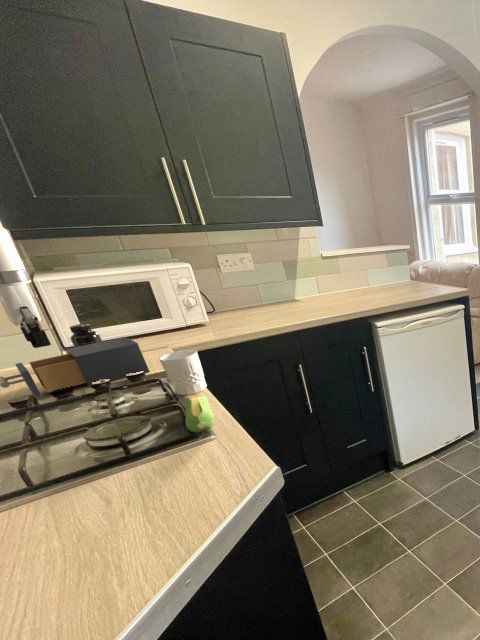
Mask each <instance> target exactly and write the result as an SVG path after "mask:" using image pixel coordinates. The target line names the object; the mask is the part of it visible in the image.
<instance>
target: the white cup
mask: <svg viewBox="0 0 480 640" xmlns="http://www.w3.org/2000/svg"><path fill="white" fill-rule="evenodd" d="M159 361H160V364H161V366H162V367H163V369H164V372H165V374H166V376H167V378H168V380H169V382H170V384H171V385H172V387H173V389H174V392H175V393H176V394H177V395H178V396H188V395H189V396H190V395H192V394H197V393H199V392H202V391H204V390H206V389H207V386H208V384H207V382H206V379H205V373H204V370H203V366H202V364H201V360H200V357H199V354H198V350H195V349H184V350H178V351H177V350H176V351H172V352H169V353H167V354H163V355H162V356H160V357H159Z"/></svg>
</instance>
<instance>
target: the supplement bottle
mask: <svg viewBox="0 0 480 640" xmlns="http://www.w3.org/2000/svg"><path fill="white" fill-rule="evenodd" d="M69 330H70V333H72V335H71V336H70V342H71V343H72V345H73V348H74V347H79V346H84V345H88V344H93V343H98V342H103V340H102V337H101V335H100V333H99V332H97V331H95V330H93V328H92V326H91V324H90V323H89V322H87V323H79V324H74V325H71V326H69Z"/></svg>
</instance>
